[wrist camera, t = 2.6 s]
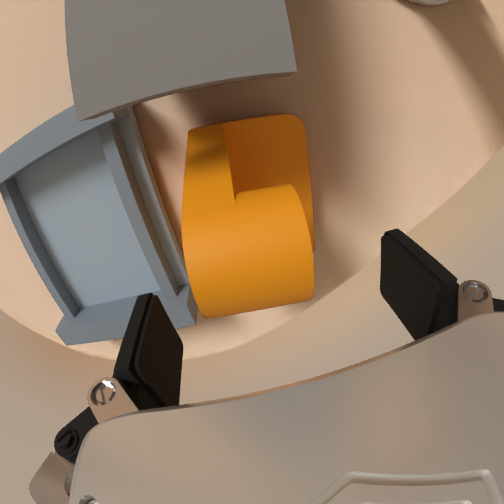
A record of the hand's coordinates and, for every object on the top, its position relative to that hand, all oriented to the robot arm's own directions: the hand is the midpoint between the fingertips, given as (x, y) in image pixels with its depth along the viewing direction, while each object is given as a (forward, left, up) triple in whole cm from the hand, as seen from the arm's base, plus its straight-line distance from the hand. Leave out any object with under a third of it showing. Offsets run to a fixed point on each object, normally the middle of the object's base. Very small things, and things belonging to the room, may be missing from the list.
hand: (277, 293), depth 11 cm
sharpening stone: (0, -21, -12) cm, 24 cm away
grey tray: (+13, -2, -12) cm, 18 cm away
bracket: (-1, -1, -12) cm, 12 cm away
